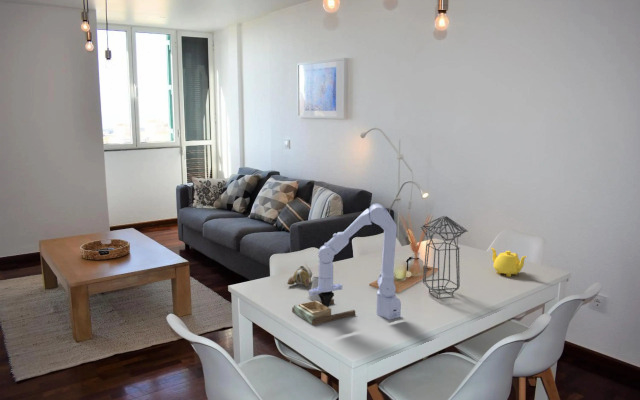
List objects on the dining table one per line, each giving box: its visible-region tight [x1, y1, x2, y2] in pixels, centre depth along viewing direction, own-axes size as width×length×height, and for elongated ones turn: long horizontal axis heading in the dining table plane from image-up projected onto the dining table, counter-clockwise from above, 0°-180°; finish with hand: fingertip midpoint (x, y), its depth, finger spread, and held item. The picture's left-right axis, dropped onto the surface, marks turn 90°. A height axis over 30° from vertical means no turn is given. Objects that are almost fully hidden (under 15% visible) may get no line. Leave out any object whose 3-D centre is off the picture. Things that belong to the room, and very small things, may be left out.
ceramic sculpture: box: [287, 264, 313, 287], centre depth 247 cm, size 11×9×15 cm
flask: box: [307, 275, 321, 302], centre depth 225 cm, size 7×7×10 cm
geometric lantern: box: [420, 215, 469, 299], centre depth 231 cm, size 16×16×35 cm
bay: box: [291, 298, 356, 326], centre depth 209 cm, size 16×19×4 cm
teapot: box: [490, 247, 528, 278], centre depth 264 cm, size 20×15×12 cm
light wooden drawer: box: [298, 300, 332, 319], centre depth 207 cm, size 11×8×4 cm
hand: (325, 309), depth 210 cm, fingers closed
